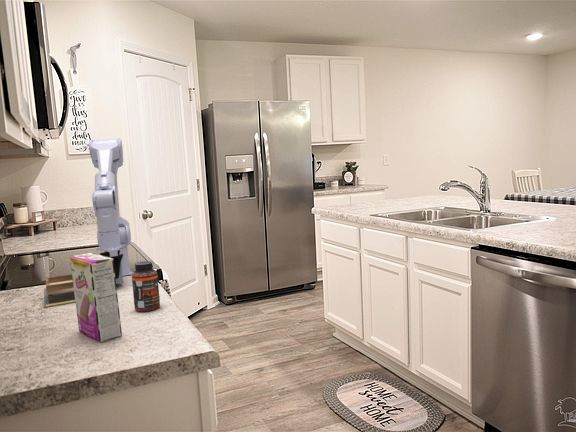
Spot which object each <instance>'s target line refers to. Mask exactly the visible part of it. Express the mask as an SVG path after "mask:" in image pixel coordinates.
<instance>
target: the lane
mask: <svg viewBox="0 0 576 432" xmlns="http://www.w3.org/2000/svg"><path fill="white" fill-rule="evenodd" d="M70 304H76V302H75V294H74V291H69V292H63V293H56V294H53V302H49V299H48V295H47V290H46V288H44V290H43V309H47V308H53V307H58V306H59V307H60V306H65V305H70Z"/></svg>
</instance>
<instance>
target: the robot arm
mask: <svg viewBox="0 0 576 432" xmlns="http://www.w3.org/2000/svg"><path fill="white" fill-rule="evenodd" d="M88 149H89V150H88V151H89V156H90V159H91V162H92V165H93V167H94V168H96V169H98V172H97V173H96V174H95V176H94V192H92V194H91V200H92V201H91V202H92V207H93V210H94V216H95V217H96V226H97V229H96V230H97V231H96V238H97V239H96V240H97V244H98V245H97V246H98V247H97V246H96V247H95V249H94V250H95V251H96V252H97V251H101V252H99V255H101V256H105V257H109V258H113V262H114V271H115V279H118V278H119V272H120V264H121V265H122V274H123V277H125V276H129V275H131V276H132V274H133V273H134V272H133V271H132V270H131V268H130V259H129V251H128V250H129V249H128V246H130V245H131V243H132V235H131V228H130V223H129V221H128V220H127V219H126V218H123V217H122V216H121V213H120V203H119V200H120V199H119V190H118V189H119V188H118V170H119V168H121V167H122V166H124V151H123V150H124V148H123V141H122V139H121V138H118V137H117V138H108V139H107V138H106V139H104V138H103V139H90V140H89V142H88Z"/></svg>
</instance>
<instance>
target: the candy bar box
mask: <svg viewBox="0 0 576 432" xmlns="http://www.w3.org/2000/svg"><path fill="white" fill-rule="evenodd" d="M69 264H70V271H71V272H70V273H71V274H72V280H73V287H74V294H75V302H76V303H75V308H76V310H75V311H76V316H77V324H78V330H79V332H81V333H83V334H85V335H86V336H88V337H89V338H92V339H94V340H95V341H97V342H99V343H104V342H107V341H111V340H114V339H116V338H119V337H122V336H123V333H122V323H121V316H120V315H121V314H120V307H119V299H118V297H119V296H118V289H117V288H118V287H117V284H116V279H115V271H114V262H113V258H109V257H105V256H101V255H100V254H98V253H93V252H87V253H81V254H76V255H72V256H70V257H69Z"/></svg>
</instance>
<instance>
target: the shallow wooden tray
mask: <svg viewBox="0 0 576 432" xmlns="http://www.w3.org/2000/svg"><path fill="white" fill-rule="evenodd" d="M45 289H46V290H47V295H48V299H49V302H53V294H56V293H63V292H69V291H74V287H73V280H72V273H71V274H65V275H59V276H58V275H57V276H52V277H51V276H50V277H46V278H45Z"/></svg>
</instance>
